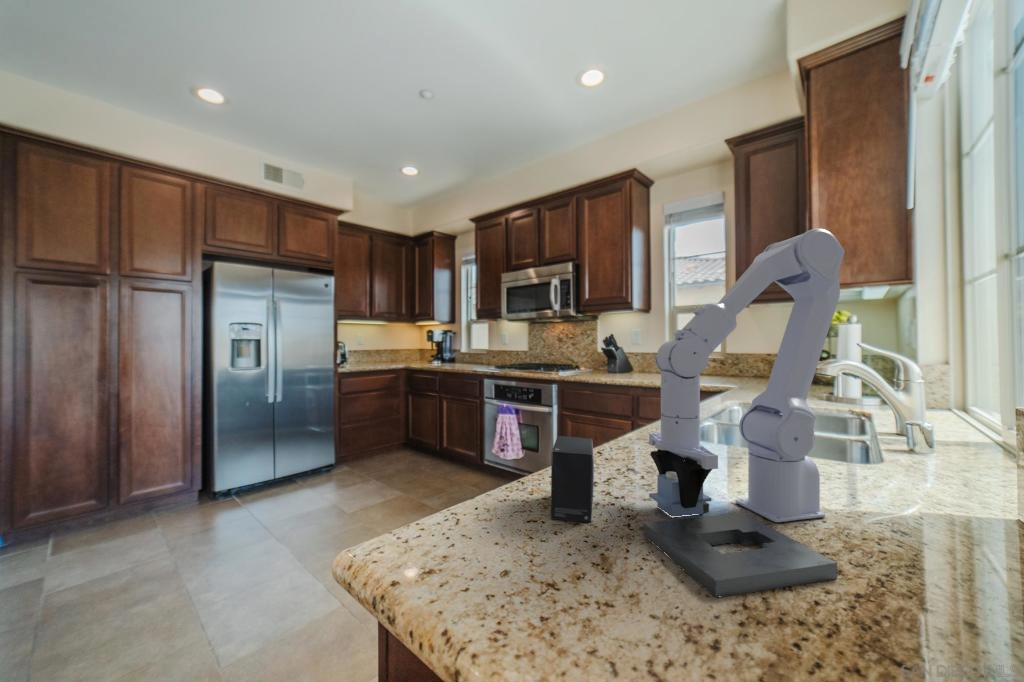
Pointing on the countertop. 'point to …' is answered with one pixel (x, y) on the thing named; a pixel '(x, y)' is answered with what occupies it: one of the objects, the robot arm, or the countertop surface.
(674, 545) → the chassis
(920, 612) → the countertop surface
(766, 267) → the robot arm
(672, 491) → the servo
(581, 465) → the small box
